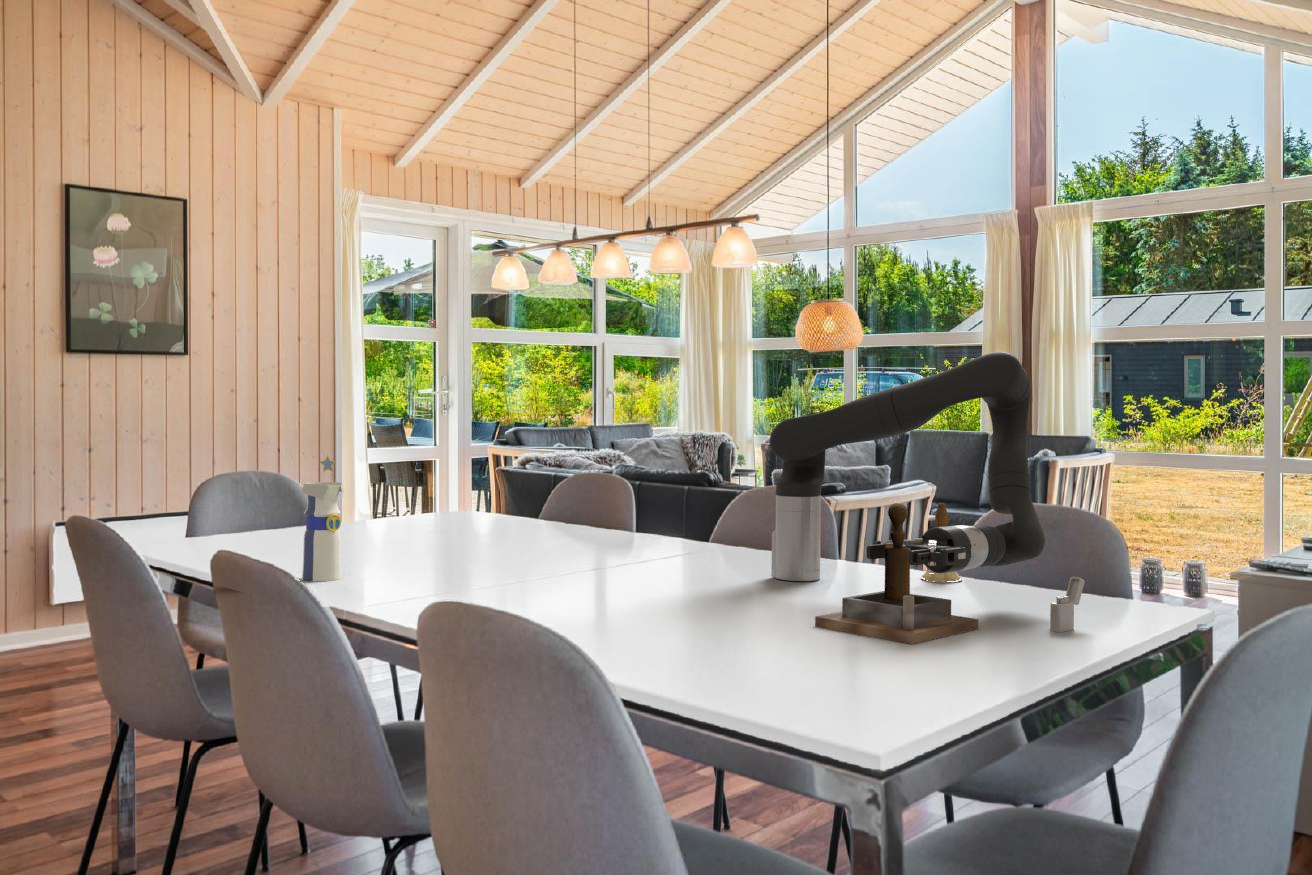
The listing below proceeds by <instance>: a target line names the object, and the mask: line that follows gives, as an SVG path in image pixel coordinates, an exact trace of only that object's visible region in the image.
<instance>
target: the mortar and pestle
mask: <svg viewBox="0 0 1312 875" xmlns="http://www.w3.org/2000/svg"><path fill="white" fill-rule="evenodd" d="M908 514H909V511H908V508H907V506H906V505H904V504H903V503H892V504H890V506H889V507H888V510H887V515H888V517H889V520H890V521H891V523H892V526H893V528H892V531H890V538H891V539H890V540H892V542H893V546H886V547H885V559H884V591H885V597H882V598H880V600H879V601H877V602H879V603H885V604H891V605H898V606H903V596H910V594H911V565H910V564H909V552H910V548H909V547H904V546H902V545H904V544H903V542H904V540H905V536H906V531H904V528H903V526H904V523H905V521H906V519H907V518H908ZM917 604H918V603H916V602H915V600H914V605H917Z"/></svg>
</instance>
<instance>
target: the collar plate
mask: <svg viewBox="0 0 1312 875" xmlns="http://www.w3.org/2000/svg"><path fill="white" fill-rule="evenodd" d="M882 597H885V590H882V591H876V592H871V593H870V592H869V593H864V594H858V595H853V596H847V597H845V596H844V597H842V600H841V601H842V602H841V604H842V605H841V606H842V608H841V609H842V610H841V611H838V612H833V613H827V614H822V615H815V616H814V626H815V627H819V628H824V629H830V630H836V631H841V632H845V633H850V634H856V635H860V636H861V635H862V636H866V637H872V638H876V639H881V640H887V641H893V642H896V643H897V642H899V643H904V644H909V645H914V644H919V643H924V642H928V641H933V640H936V639H941V638H944V637H948V636H954V635H958V634H963V633H966V632H971V631H975V630H978V629H979V619H978V618H974V617H973V618H972V617H966V616H961V615H953V614H952V599H950V598H949V599H948V598H941V597H935V596H927V595H921V594H915V593H910V596H903V606H898V605H891V604H885V603H879V602H877V601H879V600H880V598H882ZM914 600H915V602H916V603H918V604H917V605H914Z"/></svg>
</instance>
